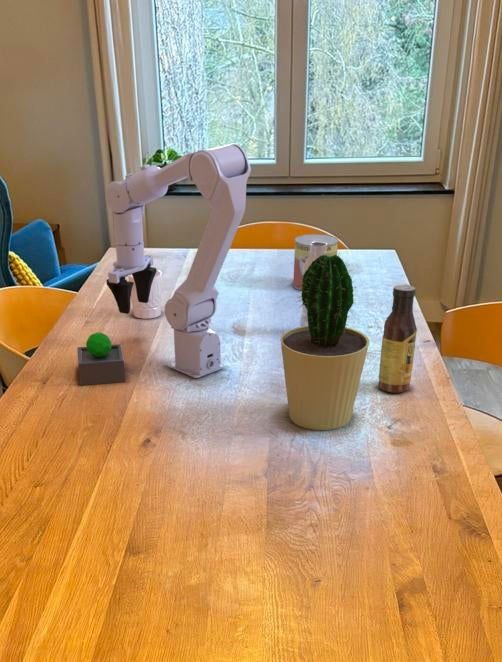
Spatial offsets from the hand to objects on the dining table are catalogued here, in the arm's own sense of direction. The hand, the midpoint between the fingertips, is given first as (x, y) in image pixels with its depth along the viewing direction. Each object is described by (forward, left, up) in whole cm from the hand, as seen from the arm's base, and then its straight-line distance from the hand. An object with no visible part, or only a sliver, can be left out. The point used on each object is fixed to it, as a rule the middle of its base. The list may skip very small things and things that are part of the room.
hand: (134, 307), depth 170 cm
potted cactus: (-50, -3, -10) cm, 51 cm away
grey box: (-6, +14, -9) cm, 18 cm away
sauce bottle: (-52, -23, -10) cm, 58 cm away
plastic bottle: (-21, -35, -10) cm, 42 cm away
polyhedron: (-6, +14, -6) cm, 16 cm away
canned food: (+2, -62, -10) cm, 63 cm away
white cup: (+16, -16, -10) cm, 25 cm away
